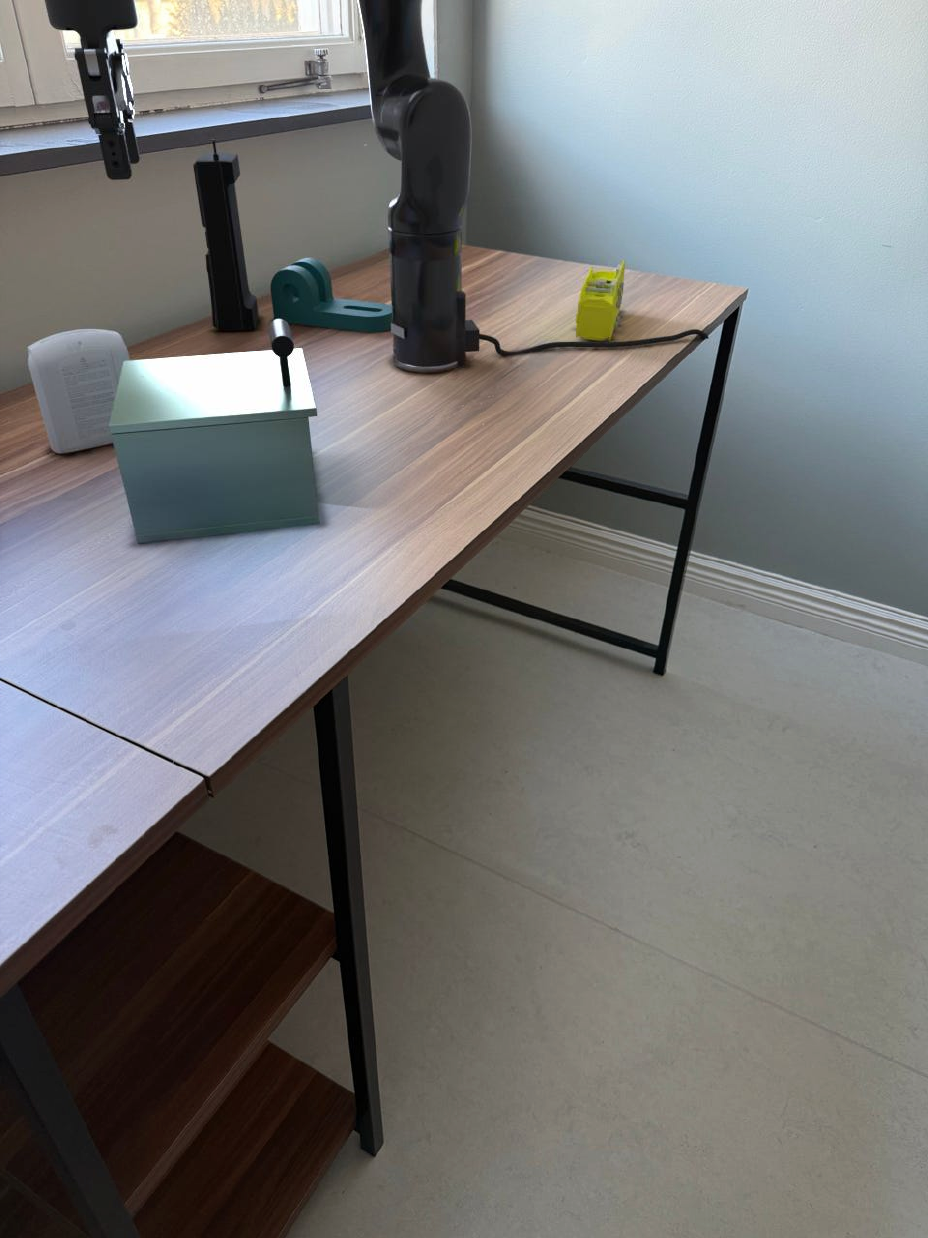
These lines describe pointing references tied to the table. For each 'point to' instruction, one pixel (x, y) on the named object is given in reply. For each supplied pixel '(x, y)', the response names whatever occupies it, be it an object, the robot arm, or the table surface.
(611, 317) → the yellow toy chassis
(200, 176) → the portable radio
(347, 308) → the bracket
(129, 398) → the lid
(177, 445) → the box
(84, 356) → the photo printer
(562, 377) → the table surface
